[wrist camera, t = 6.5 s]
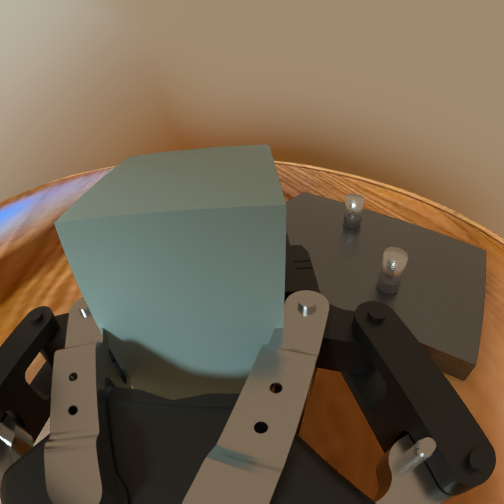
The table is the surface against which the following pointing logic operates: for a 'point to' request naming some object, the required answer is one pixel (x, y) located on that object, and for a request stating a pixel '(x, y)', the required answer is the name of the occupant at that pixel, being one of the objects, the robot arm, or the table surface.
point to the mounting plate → (423, 280)
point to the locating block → (183, 265)
